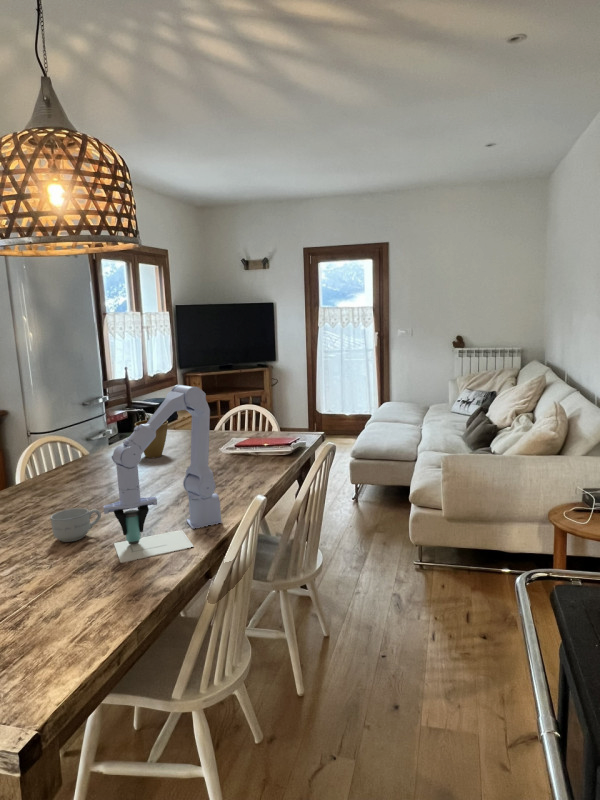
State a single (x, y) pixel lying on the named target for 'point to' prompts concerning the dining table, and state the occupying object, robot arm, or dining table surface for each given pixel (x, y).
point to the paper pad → (152, 546)
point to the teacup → (72, 523)
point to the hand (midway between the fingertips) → (133, 532)
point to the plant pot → (156, 440)
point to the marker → (132, 526)
